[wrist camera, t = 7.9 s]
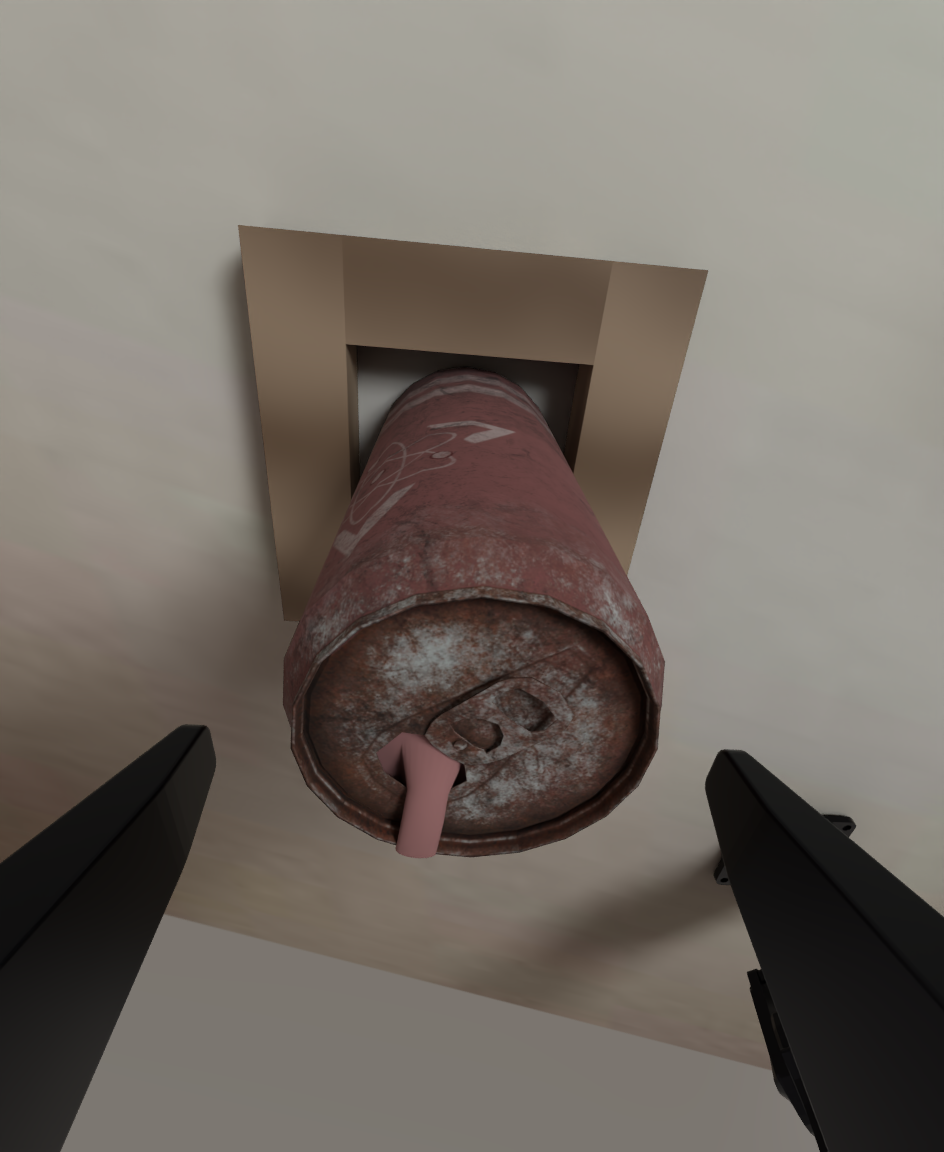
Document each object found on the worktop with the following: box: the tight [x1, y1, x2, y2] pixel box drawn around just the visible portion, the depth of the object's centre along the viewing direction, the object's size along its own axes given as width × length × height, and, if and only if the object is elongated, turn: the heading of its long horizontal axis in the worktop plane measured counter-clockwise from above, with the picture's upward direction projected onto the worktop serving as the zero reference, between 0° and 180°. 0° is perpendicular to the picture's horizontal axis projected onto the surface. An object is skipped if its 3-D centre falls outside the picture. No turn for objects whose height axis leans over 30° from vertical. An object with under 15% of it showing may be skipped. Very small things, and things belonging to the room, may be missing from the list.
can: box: [283, 367, 665, 858], centre depth 14 cm, size 6×6×14 cm
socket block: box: [238, 225, 708, 621], centre depth 19 cm, size 13×13×2 cm
